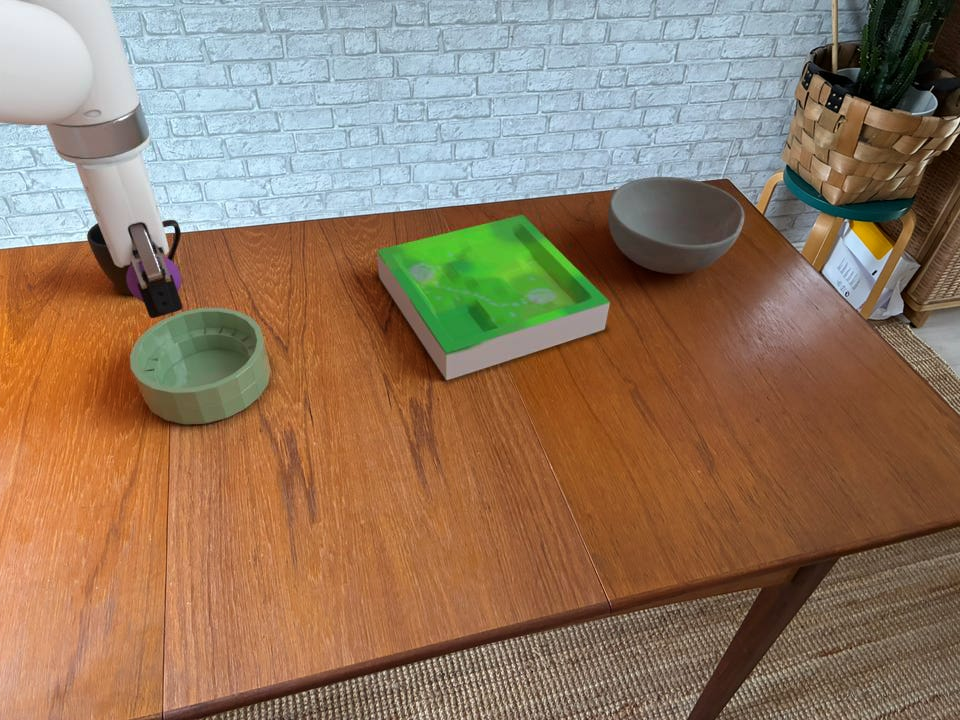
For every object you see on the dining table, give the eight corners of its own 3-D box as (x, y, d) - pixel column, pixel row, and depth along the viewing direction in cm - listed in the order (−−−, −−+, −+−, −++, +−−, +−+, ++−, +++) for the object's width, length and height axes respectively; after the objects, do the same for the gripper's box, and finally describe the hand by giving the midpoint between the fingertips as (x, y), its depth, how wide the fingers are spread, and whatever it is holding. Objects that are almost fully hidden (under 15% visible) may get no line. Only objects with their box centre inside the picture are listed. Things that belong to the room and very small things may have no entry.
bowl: (609, 217, 124) (619, 165, 117) (728, 237, 120) (745, 185, 113) (591, 282, 109) (601, 227, 102) (726, 308, 106) (745, 252, 99)
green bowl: (235, 438, 84) (224, 403, 80) (118, 412, 87) (102, 377, 82) (290, 353, 95) (283, 319, 91) (186, 333, 98) (175, 298, 94)
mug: (199, 284, 106) (182, 230, 99) (114, 308, 101) (91, 252, 95) (186, 256, 111) (170, 203, 104) (104, 277, 106) (82, 223, 100)
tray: (520, 240, 117) (522, 214, 114) (604, 329, 101) (610, 302, 98) (379, 277, 109) (376, 250, 105) (446, 380, 92) (446, 352, 89)
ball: (169, 318, 70) (155, 277, 67) (124, 309, 71) (108, 268, 67) (196, 288, 74) (183, 249, 70) (153, 280, 74) (139, 240, 71)
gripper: (38, 99, 63) (105, 264, 76) (66, 183, 53) (139, 359, 65) (125, 84, 66) (177, 245, 79) (168, 161, 56) (220, 333, 68)
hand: (159, 295), depth 72 cm, fingers closed on ball, 4 cm apart
